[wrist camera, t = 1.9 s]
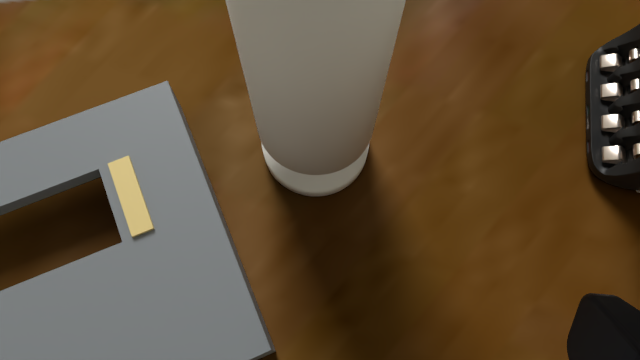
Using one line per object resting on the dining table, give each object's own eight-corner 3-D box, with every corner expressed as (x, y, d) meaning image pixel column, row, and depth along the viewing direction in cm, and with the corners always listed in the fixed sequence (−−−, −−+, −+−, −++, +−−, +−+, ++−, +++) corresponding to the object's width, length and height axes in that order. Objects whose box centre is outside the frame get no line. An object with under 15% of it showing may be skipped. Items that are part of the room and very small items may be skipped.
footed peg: (339, 214, 22) (390, -102, 7) (244, 168, 23) (105, -214, 8) (384, 125, 24) (509, -304, 8) (293, 84, 24) (256, -386, 9)
